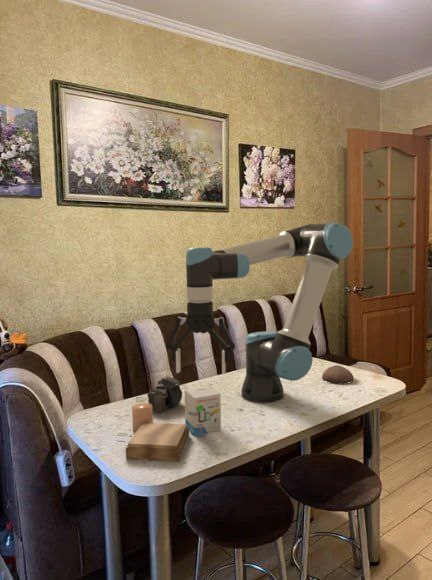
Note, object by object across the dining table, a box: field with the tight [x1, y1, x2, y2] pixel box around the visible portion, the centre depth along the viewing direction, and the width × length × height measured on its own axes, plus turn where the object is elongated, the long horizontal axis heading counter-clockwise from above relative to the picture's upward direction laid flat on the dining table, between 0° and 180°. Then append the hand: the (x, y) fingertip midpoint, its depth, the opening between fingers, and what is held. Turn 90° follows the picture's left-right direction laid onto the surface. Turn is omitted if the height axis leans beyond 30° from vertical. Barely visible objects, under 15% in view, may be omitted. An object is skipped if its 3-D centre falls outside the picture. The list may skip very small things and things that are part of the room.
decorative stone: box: [321, 364, 354, 384], centre depth 173 cm, size 12×12×6 cm
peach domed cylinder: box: [131, 402, 154, 433], centre depth 131 cm, size 6×6×7 cm
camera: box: [146, 375, 183, 414], centre depth 148 cm, size 13×10×10 cm
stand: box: [125, 422, 190, 463], centre depth 119 cm, size 14×14×4 cm
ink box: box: [184, 385, 222, 437], centre depth 130 cm, size 8×8×12 cm
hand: (201, 372), depth 129 cm, fingers open, 13 cm apart
